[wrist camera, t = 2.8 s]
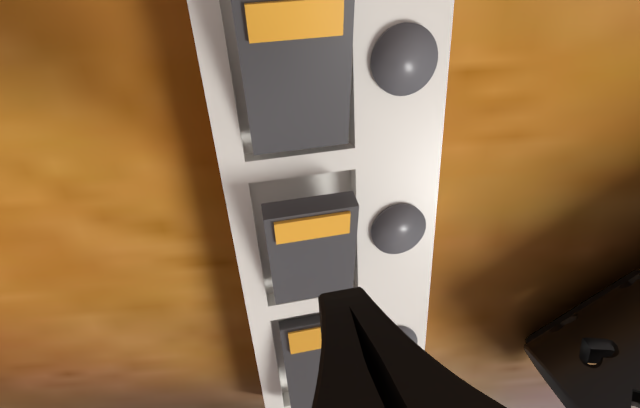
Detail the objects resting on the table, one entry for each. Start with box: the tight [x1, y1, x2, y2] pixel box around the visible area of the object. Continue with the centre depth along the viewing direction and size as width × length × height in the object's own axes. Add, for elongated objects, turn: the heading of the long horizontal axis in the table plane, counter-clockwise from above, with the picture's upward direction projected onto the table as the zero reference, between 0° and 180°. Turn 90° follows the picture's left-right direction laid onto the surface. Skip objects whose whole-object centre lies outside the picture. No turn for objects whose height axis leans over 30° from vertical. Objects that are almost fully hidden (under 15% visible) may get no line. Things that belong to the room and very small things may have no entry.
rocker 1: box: [231, 0, 355, 155], centre depth 15 cm, size 6×4×1 cm, turn 4°
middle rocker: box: [261, 191, 359, 304], centre depth 19 cm, size 6×4×1 cm, turn 4°
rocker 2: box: [278, 314, 322, 408], centre depth 23 cm, size 6×4×1 cm, turn 3°
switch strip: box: [187, 0, 454, 408], centre depth 21 cm, size 27×10×3 cm, turn 4°
